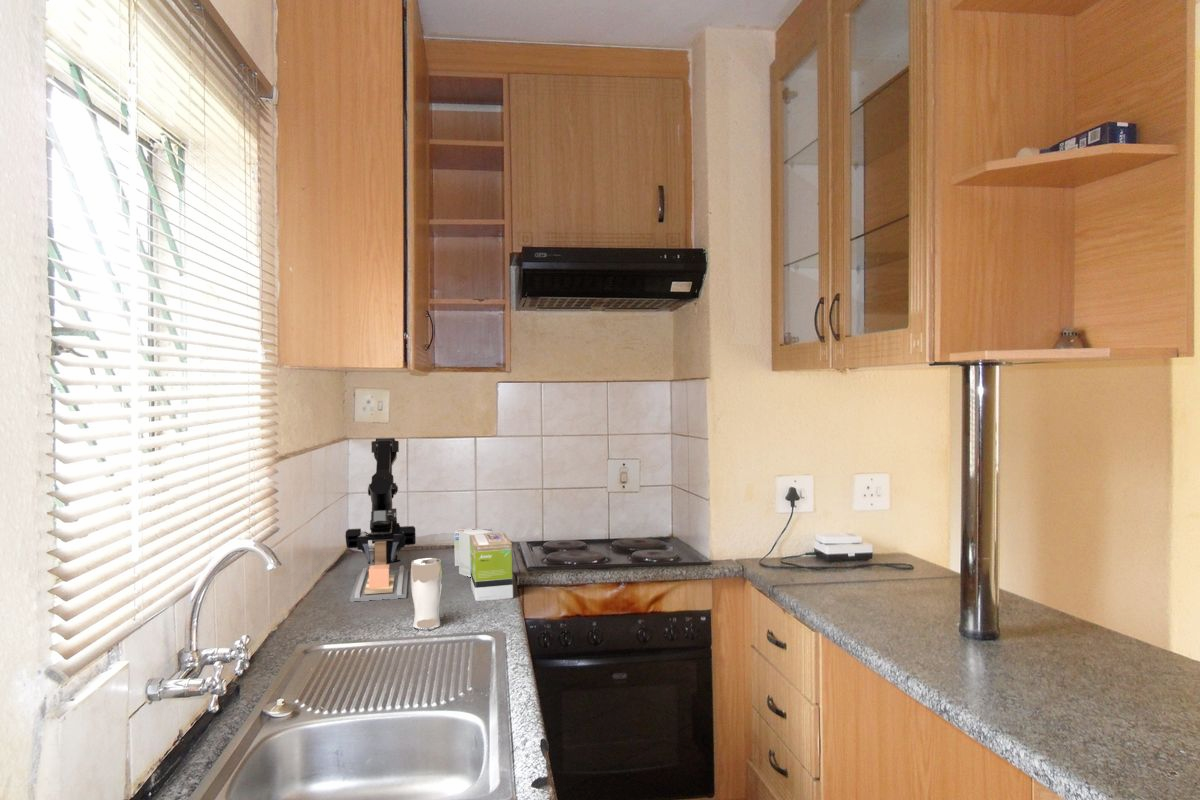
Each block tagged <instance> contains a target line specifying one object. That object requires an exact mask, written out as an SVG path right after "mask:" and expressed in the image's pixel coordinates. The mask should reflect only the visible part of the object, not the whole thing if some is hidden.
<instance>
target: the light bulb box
mask: <svg viewBox="0 0 1200 800" xmlns="http://www.w3.org/2000/svg"><path fill="white" fill-rule="evenodd" d="M476 529H477V528H458V529H456V530H455V531H454V532H453V541H454V542H453V543H454V544H453V549H454V551H453V554H454V567H459V532H461V531H468V530H476ZM481 529H482V530H487V531H492V532H493V528H481Z"/></svg>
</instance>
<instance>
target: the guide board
mask: <svg viewBox="0 0 1200 800" xmlns="http://www.w3.org/2000/svg"><path fill="white" fill-rule="evenodd" d="M389 573H390V575H395V580H394V587H393V592H391V593H376V594H365V587H366V584H367V580H368V577H369V571H368V567H363V568H362V571H359V572H358V574H357V577H356V580H355V582H354V585H353V587H352V590H351V594H350V597H349V603H355V602H354V601H361V602H370V601H369V600H376V601H383V600H382V599H390V600H399V599H398V598H405V599H407V598H408V597H407V596H408V595H407V594H408V581H409V569H406V568H405V565H399V569H393V570H392V569H389ZM406 597H407V598H406Z"/></svg>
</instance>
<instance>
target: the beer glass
mask: <svg viewBox="0 0 1200 800" xmlns="http://www.w3.org/2000/svg"><path fill="white" fill-rule="evenodd" d="M441 561H442V560H441V559H440V558H438V557H437V558H435V557H424V558H421V557H420V558H417V559H413V560H411V561H410V563H411V566H410V591H411V595H412V603H413V606H414V618H413V624H412V627H415V628H421V629H422V628H423V629H424V628H425V629H426V628H434V627H438V626H440V627H441V625H440V624H441V619H440V613H439V609H440V600H441V593H442V588H443V587H442V586H443V585H442V584H443V573H442V562H441Z"/></svg>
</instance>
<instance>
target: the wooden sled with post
mask: <svg viewBox="0 0 1200 800" xmlns="http://www.w3.org/2000/svg"><path fill="white" fill-rule="evenodd" d="M374 548H375V562H374V565H387V564H388V563H387V550H386V541H381V542H375V543H374ZM394 580H395V575H390V584H389V587H388V588H373V589H369V577H368V580H367V584H366V587H365V594H376V593H391V592H393V587H394Z"/></svg>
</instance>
